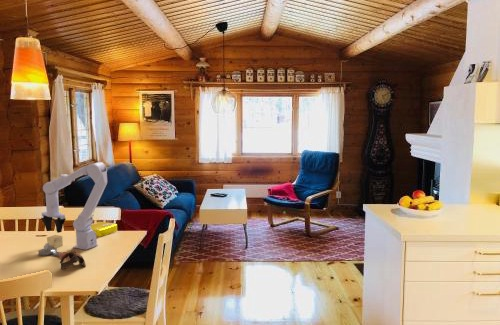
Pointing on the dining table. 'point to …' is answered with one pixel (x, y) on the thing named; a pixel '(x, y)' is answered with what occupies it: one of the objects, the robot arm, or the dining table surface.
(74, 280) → the dining table surface
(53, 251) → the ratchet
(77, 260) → the brown arched piece
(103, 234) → the element tile
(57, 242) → the wooden cube
